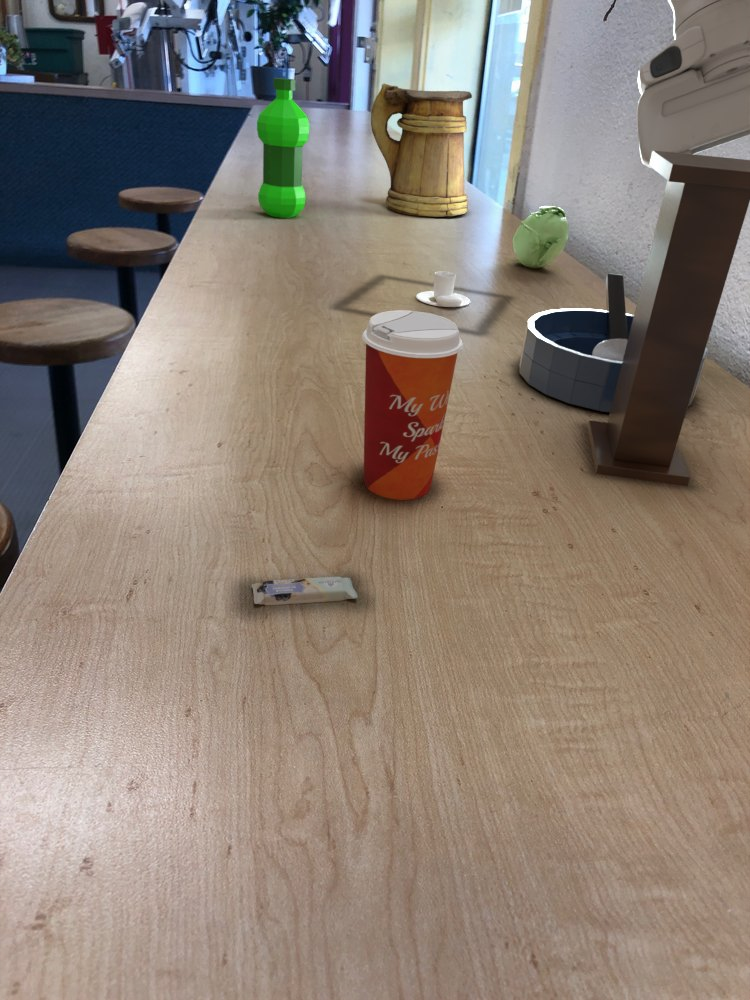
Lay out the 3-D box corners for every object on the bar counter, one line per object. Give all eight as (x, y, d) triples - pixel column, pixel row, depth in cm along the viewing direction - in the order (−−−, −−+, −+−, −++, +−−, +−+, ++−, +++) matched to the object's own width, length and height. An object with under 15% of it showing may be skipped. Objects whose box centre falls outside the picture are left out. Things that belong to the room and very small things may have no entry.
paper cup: (391, 519, 61) (410, 346, 54) (332, 478, 66) (342, 315, 59) (462, 493, 66) (488, 330, 59) (402, 456, 71) (419, 303, 64)
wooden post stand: (667, 441, 78) (750, 160, 65) (686, 489, 70) (786, 175, 57) (586, 430, 79) (652, 150, 66) (595, 476, 70) (672, 163, 57)
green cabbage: (487, 264, 138) (496, 199, 133) (527, 258, 145) (537, 196, 140) (541, 281, 131) (553, 212, 125) (580, 274, 138) (594, 208, 132)
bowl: (675, 367, 98) (688, 320, 95) (708, 431, 81) (725, 376, 78) (518, 347, 100) (526, 300, 97) (518, 406, 83) (528, 351, 80)
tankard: (472, 221, 173) (489, 94, 161) (365, 213, 171) (374, 84, 159) (461, 206, 189) (476, 89, 176) (363, 199, 187) (371, 80, 175)
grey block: (641, 285, 99) (647, 264, 97) (652, 404, 85) (660, 383, 83) (585, 279, 100) (590, 258, 98) (586, 397, 86) (592, 375, 83)
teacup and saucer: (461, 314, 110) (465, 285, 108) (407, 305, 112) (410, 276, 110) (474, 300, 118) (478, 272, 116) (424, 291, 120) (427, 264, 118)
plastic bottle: (287, 210, 167) (290, 77, 155) (316, 220, 160) (322, 82, 148) (247, 213, 161) (246, 75, 149) (275, 223, 155) (277, 80, 142)
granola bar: (351, 583, 53) (352, 571, 53) (357, 604, 51) (358, 592, 51) (251, 589, 52) (251, 576, 51) (253, 611, 50) (253, 598, 49)
